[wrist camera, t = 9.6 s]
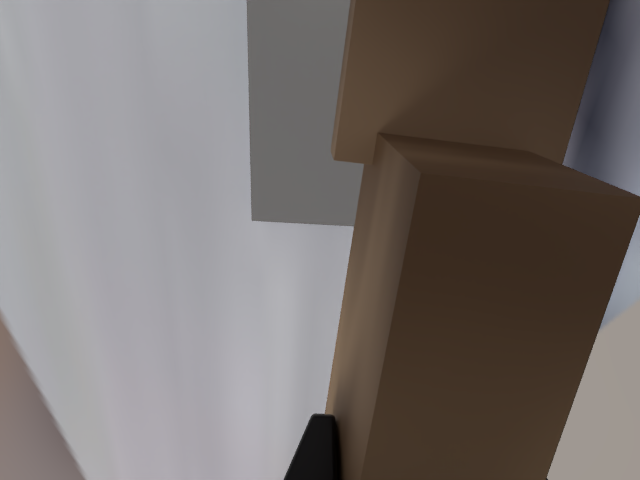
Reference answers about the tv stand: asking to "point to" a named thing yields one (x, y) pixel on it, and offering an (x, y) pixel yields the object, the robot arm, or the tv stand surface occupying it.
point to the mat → (298, 113)
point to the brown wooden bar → (468, 237)
